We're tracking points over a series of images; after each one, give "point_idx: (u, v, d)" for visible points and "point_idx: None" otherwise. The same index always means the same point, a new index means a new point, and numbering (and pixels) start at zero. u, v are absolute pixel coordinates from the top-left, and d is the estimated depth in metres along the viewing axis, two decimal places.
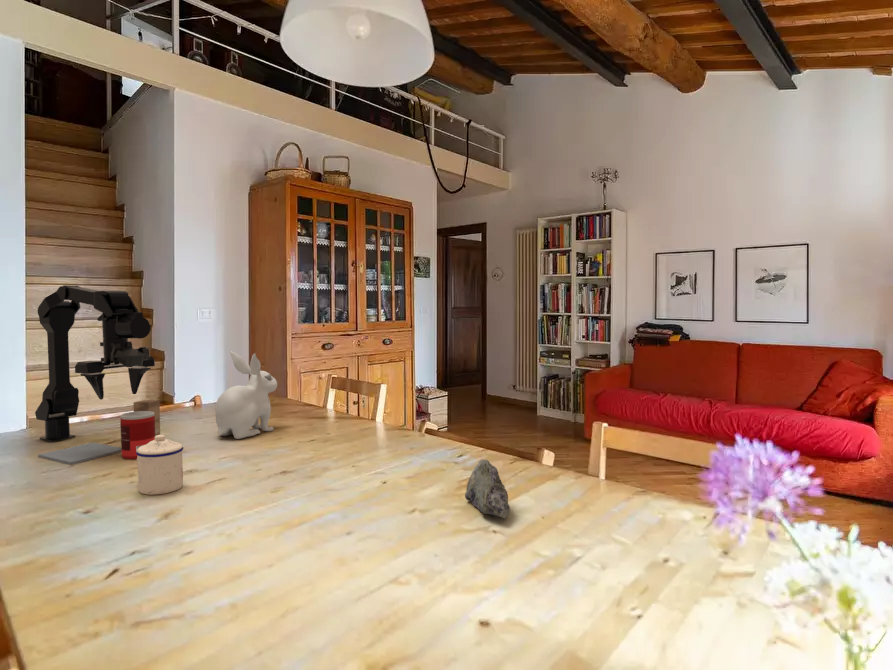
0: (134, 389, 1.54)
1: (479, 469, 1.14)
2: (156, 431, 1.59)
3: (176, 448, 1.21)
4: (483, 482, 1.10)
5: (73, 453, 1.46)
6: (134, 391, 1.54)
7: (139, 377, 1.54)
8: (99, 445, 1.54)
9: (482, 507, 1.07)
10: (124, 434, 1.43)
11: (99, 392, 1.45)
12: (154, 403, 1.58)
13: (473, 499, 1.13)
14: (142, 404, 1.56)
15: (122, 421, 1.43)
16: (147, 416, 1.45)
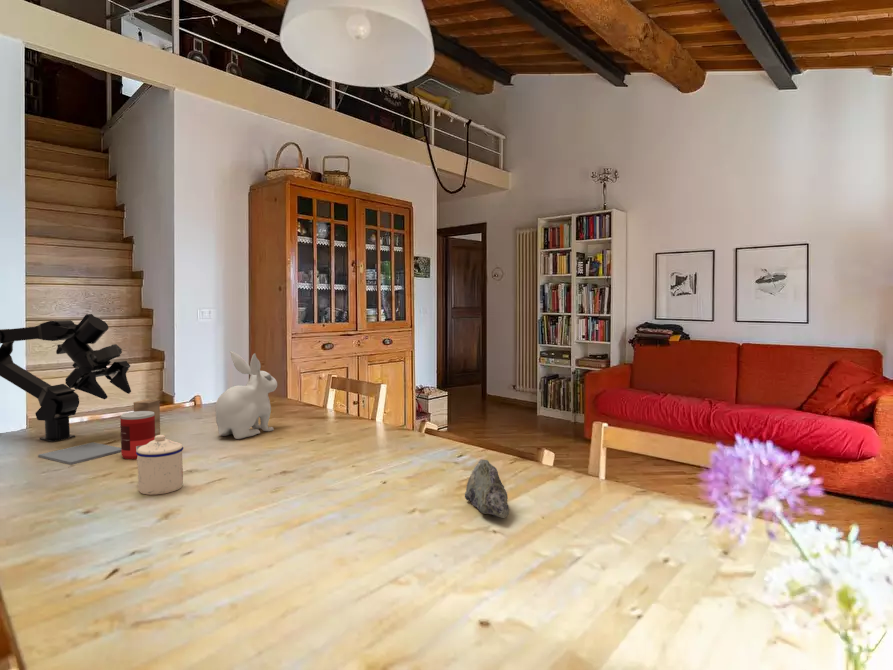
0: (127, 388, 1.64)
1: (478, 469, 1.14)
2: (156, 431, 1.59)
3: (176, 448, 1.21)
4: (483, 482, 1.10)
5: (73, 453, 1.46)
6: (128, 390, 1.64)
7: (124, 377, 1.65)
8: (99, 445, 1.54)
9: (481, 507, 1.07)
10: (124, 434, 1.43)
11: (100, 392, 1.54)
12: (154, 403, 1.58)
13: (473, 499, 1.13)
14: (142, 404, 1.56)
15: (122, 421, 1.43)
16: (147, 416, 1.45)
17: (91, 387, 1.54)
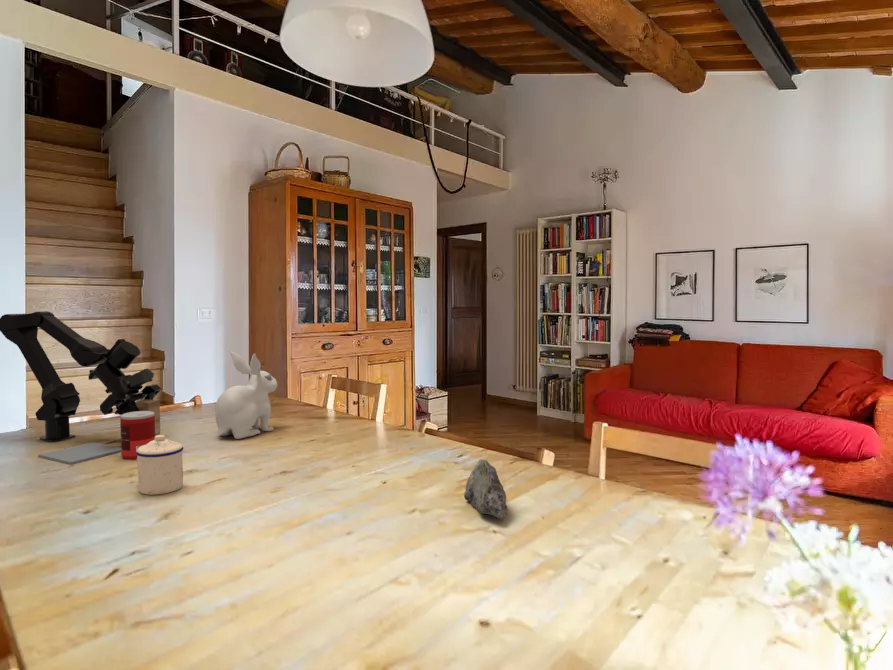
0: None
1: (478, 469, 1.14)
2: (156, 431, 1.59)
3: (176, 448, 1.21)
4: (482, 482, 1.10)
5: (73, 453, 1.46)
6: None
7: None
8: (99, 445, 1.54)
9: (480, 507, 1.07)
10: (124, 434, 1.43)
11: None
12: (154, 403, 1.58)
13: (472, 499, 1.13)
14: (142, 404, 1.56)
15: (122, 421, 1.43)
16: (147, 416, 1.45)
17: (131, 411, 1.55)
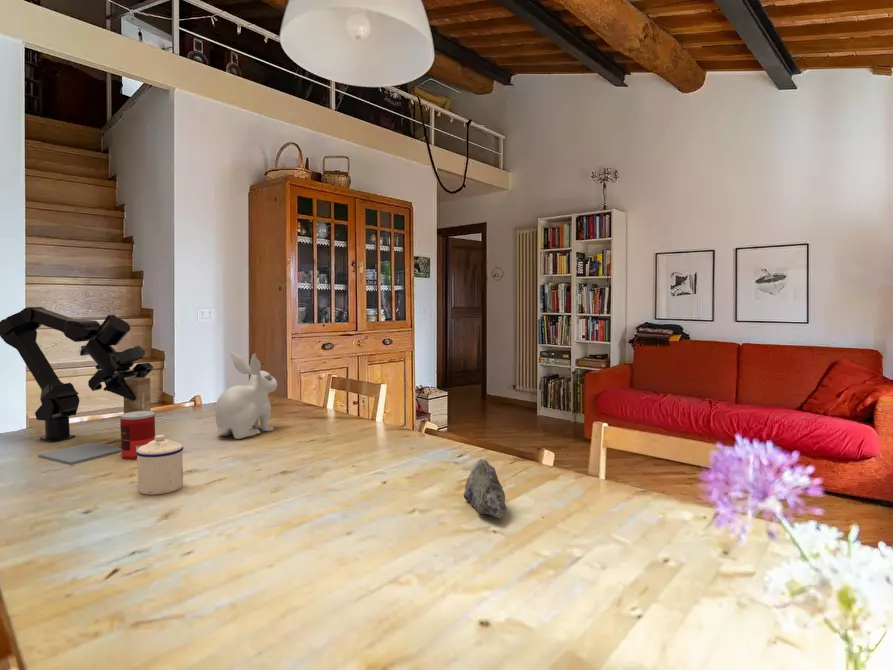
0: None
1: (477, 469, 1.14)
2: (146, 409, 1.56)
3: (176, 448, 1.21)
4: (481, 481, 1.10)
5: (73, 453, 1.46)
6: None
7: None
8: (99, 445, 1.54)
9: (478, 507, 1.07)
10: (124, 434, 1.43)
11: (129, 393, 1.53)
12: (144, 381, 1.55)
13: (471, 499, 1.13)
14: (132, 381, 1.53)
15: (122, 421, 1.43)
16: (147, 416, 1.45)
17: (120, 388, 1.53)
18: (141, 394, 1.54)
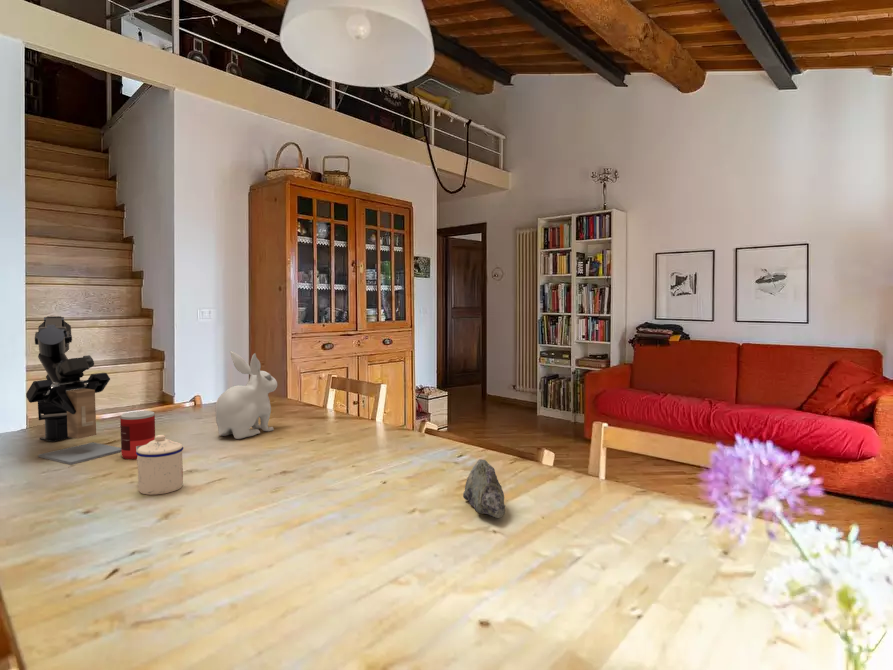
0: None
1: (476, 469, 1.14)
2: (88, 423, 1.47)
3: (176, 448, 1.21)
4: (480, 481, 1.10)
5: (73, 453, 1.46)
6: None
7: None
8: (99, 445, 1.54)
9: (477, 507, 1.07)
10: (124, 434, 1.43)
11: (69, 406, 1.44)
12: (86, 393, 1.46)
13: (470, 499, 1.13)
14: (72, 393, 1.45)
15: (122, 421, 1.43)
16: (147, 416, 1.45)
17: (61, 400, 1.45)
18: (81, 407, 1.45)
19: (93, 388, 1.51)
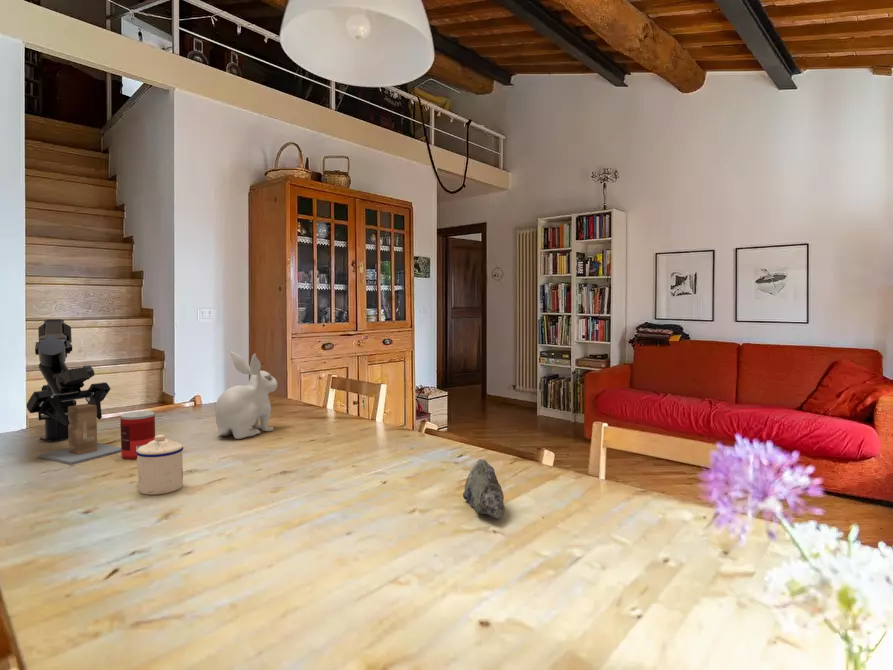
0: (98, 414, 1.50)
1: (476, 469, 1.14)
2: (90, 439, 1.47)
3: (176, 448, 1.21)
4: (479, 481, 1.10)
5: (73, 453, 1.46)
6: (99, 415, 1.50)
7: (97, 401, 1.52)
8: (99, 445, 1.54)
9: (476, 507, 1.07)
10: (124, 434, 1.43)
11: (62, 418, 1.43)
12: (88, 409, 1.47)
13: (470, 498, 1.13)
14: (74, 409, 1.45)
15: (122, 421, 1.43)
16: (147, 416, 1.45)
17: (54, 412, 1.43)
18: (82, 423, 1.45)
19: (99, 397, 1.53)
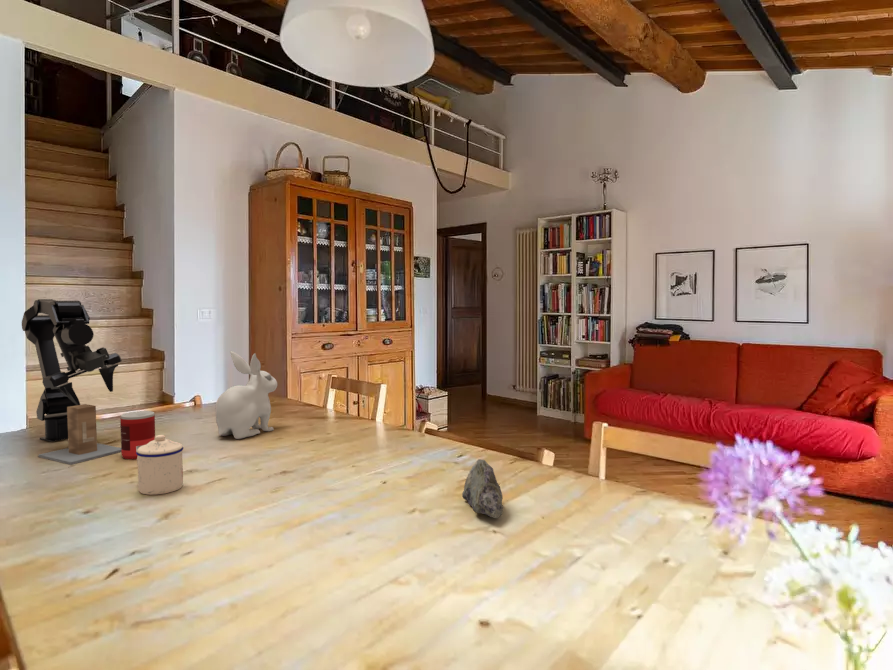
0: (109, 387, 1.60)
1: (475, 469, 1.14)
2: (89, 439, 1.47)
3: (176, 448, 1.21)
4: (478, 481, 1.10)
5: None
6: (110, 389, 1.60)
7: (110, 375, 1.60)
8: (99, 445, 1.54)
9: (475, 506, 1.07)
10: (124, 434, 1.43)
11: (74, 400, 1.52)
12: (87, 409, 1.46)
13: (469, 498, 1.13)
14: (73, 409, 1.45)
15: (122, 421, 1.43)
16: (147, 416, 1.45)
17: (67, 391, 1.51)
18: (82, 423, 1.45)
19: (112, 371, 1.60)
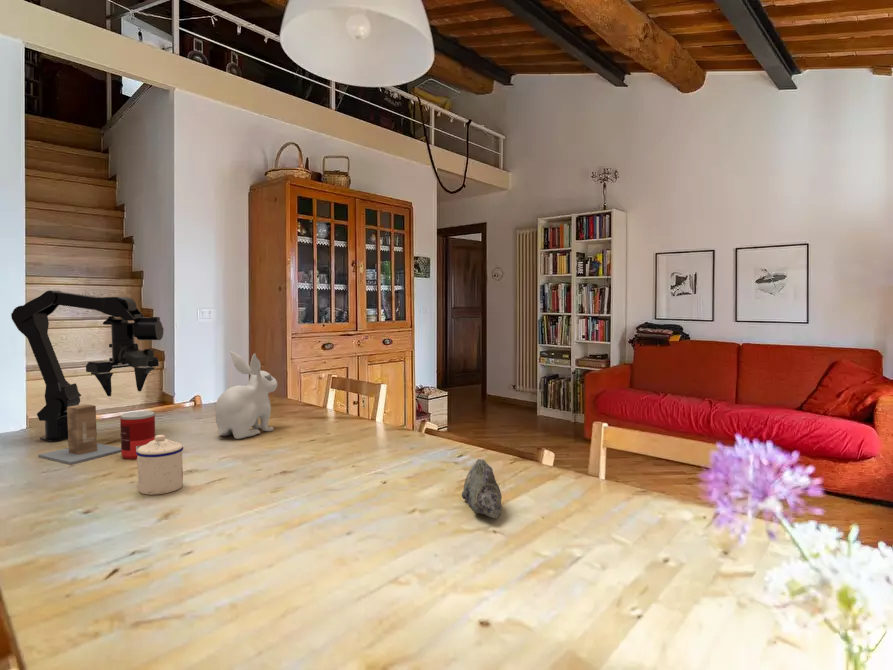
0: (139, 387, 1.68)
1: (475, 468, 1.14)
2: (89, 439, 1.47)
3: (176, 448, 1.21)
4: (477, 481, 1.10)
5: None
6: (139, 389, 1.68)
7: (144, 376, 1.68)
8: (99, 445, 1.54)
9: (473, 506, 1.07)
10: (124, 434, 1.43)
11: (107, 389, 1.59)
12: (87, 409, 1.46)
13: (468, 498, 1.13)
14: (73, 409, 1.45)
15: (122, 421, 1.43)
16: (147, 416, 1.45)
17: (104, 380, 1.59)
18: (82, 423, 1.45)
19: (148, 372, 1.69)
